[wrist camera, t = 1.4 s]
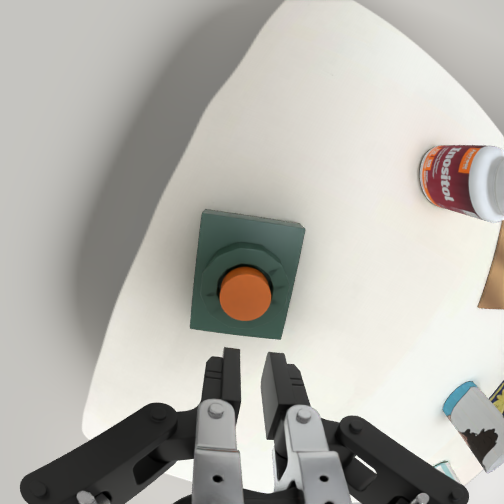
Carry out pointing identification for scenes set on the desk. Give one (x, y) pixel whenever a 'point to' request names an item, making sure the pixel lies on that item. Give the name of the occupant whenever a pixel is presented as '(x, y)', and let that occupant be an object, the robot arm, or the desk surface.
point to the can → (447, 471)
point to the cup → (477, 424)
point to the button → (245, 293)
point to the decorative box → (498, 398)
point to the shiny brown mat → (495, 278)
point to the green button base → (244, 255)
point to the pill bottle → (465, 180)
